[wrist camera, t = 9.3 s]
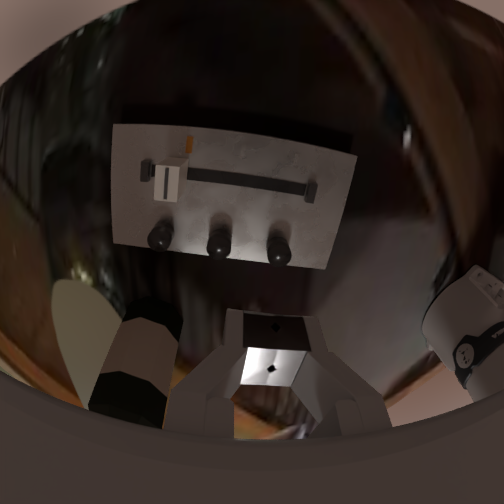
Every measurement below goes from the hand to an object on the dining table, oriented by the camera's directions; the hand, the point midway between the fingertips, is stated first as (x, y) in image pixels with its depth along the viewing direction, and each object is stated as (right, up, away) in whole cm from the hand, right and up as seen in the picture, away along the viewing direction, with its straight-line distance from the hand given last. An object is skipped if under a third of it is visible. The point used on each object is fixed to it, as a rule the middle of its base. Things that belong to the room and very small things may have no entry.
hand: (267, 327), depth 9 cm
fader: (-8, +10, +16) cm, 20 cm away
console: (-3, +9, +19) cm, 21 cm away
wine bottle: (-14, -7, +27) cm, 31 cm away
